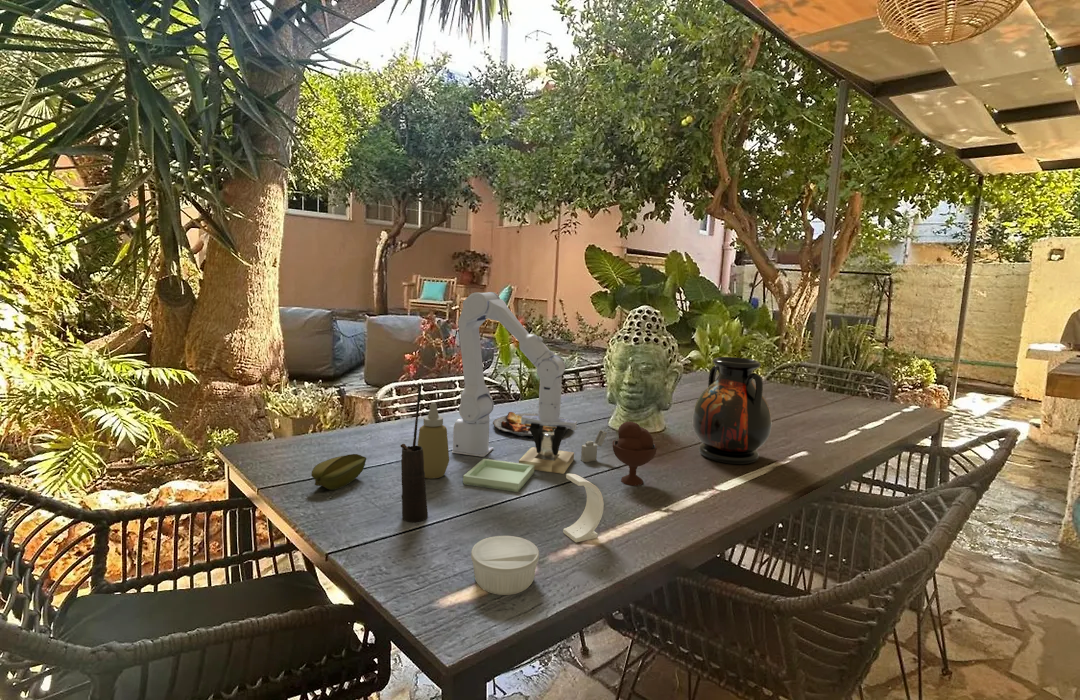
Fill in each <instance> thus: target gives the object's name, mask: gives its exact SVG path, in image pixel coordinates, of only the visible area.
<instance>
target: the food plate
mask: <svg viewBox="0 0 1080 700" xmlns="http://www.w3.org/2000/svg"><path fill="white" fill-rule="evenodd" d="M523 415H526V416H538V413H515V412H514V411H509V412H508V413H507V414H506V415H504V416H503V415H502V416H500V417H498V418H496V419H494V420H493V421H492V425H493V427H494V428H496V429H498V431H499V430H501V431H502V432H508V433H511V434H513V435H516V436H520V437H527V436H528V437H533V436H532V433H531V432H530V427H531V424H521V417H522V416H523ZM560 418H563V419H566V418H565V417H561V416H560ZM556 428H557V427H550V426H543V430H542V433H543V432H551V433H554V430H555V429H556ZM567 430H568V428H567Z"/></svg>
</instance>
